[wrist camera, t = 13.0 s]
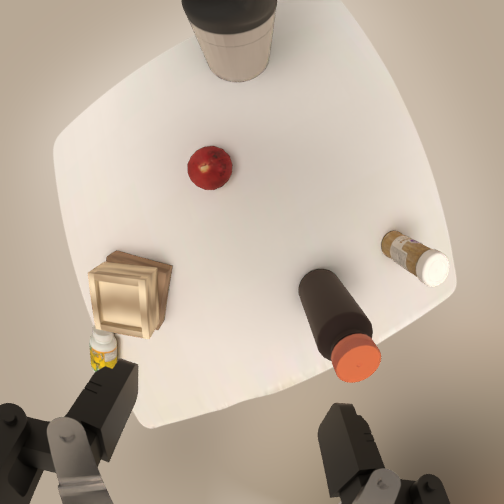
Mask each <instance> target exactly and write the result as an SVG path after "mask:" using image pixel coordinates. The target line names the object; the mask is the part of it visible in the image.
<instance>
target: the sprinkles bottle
mask: <svg viewBox="0 0 504 504" xmlns="http://www.w3.org/2000/svg"><path fill="white" fill-rule="evenodd" d="M382 251H383V253H384V254H385V255H386V256H387V257H389V258H391V259H393V260H394V261H395V262H396V263H397V264H399V265H400V266H402V267H403V268H404V269H406V270H407V271H409V272H410V273H412V274H414V275H415V276H416V277H418V279H419V280H420V281H421V282H422V283H424V284H425V285H427V286H429V287H436V286H438V285H440V284H441V283H442V282H443V281H444V280H445V278H446V277H447V275H448V271H449V261H448V258H447V257H446V255H445V254H443V253H442V252H440V251H438V250H435V249H430V248H428V247H426V246H424V245H423V244H421V243H419V242H417V241H415V240H413V239H411V238H409V237H407V236H405V235H402V234H401V233H400V232H398V231H391V232H389V233H388V234H386V236H385V237H384V238H383V241H382Z"/></svg>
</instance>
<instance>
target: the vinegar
mask: <svg viewBox="0 0 504 504" xmlns="http://www.w3.org/2000/svg"><path fill="white" fill-rule="evenodd" d="M299 296H300V299H301V302H302V305H303V307H304V310H305V313H306V316H307V319H308V322H309V324H310V327H311V330H312V333H313V336H314V339H315V342H316V345H317V348H318V350H319V352H320V353H321V354H322V356H323V357H324V358H326V359H328V360H330V361H332V364H333V367H334V369H335V372H336V374H337V376H338V377H339V378H340V379H341V380H342V381H345V382H352V383H353V382H359V381H361V380H364V379H366V378H368V377H369V376H371V375H372V374H373V373H374V372H375V371H376V369H377V368H378V366H379V364H380V362H381V361H380V360H381V353H380V351H379V349H378V347H377V346H376V344H375V343H374V342H373V340H372V334H373V330H372V324H371V322H370V321H369V319H368V318H367V316H366V315H365V313H364V312H363V311H362V309H361V308H360V307H359V305H358V304H357V303H356V301H355V300H354V299H353V297H352V296H351V295H350V293H349V292H348V291H347V289H346V288H345V287H344V285H343V284H342V283H341V281H340V280H339V279H338V277H337V276H336V275H335V274H334V273H332V272H331V271H329V270H325V269H317V270H314V271H311V272H310V273H308V274H307V275H305V277H304V278H303V279H302V281H301V283H300V286H299Z"/></svg>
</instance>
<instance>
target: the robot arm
mask: <svg viewBox="0 0 504 504" xmlns="http://www.w3.org/2000/svg"><path fill="white" fill-rule="evenodd" d="M182 6H183V9H184V11H185V13H186V15H187V18H188V20H189V22H190V24H191V26H192V29H193V31H194V33H195V35H196V37H197V40H198V42H199V44H200V47H201V49H202V51H203V53H204V56H205V58H206V60H207V63H208V65H209V67H210V69H211V70H212V72H213V73H214V74H215V75H216V76H218V77H219V78H221V79H223V80H226V81H230V82H244V81H248V80H251V79H253V78H255V77H257V76H258V75H260V74H261V73H262V72H263V71H264V69H265V68H266V66H267V64H268V61H269V55H270V48H271V41H272V34H273V27H274V20H275V11H276V6H277V0H182ZM137 394H138V364H135V363H132V362H129V361H126V360H123V359H119V360H118V361H117V363H116V364H115V366H114V367H113V369H112V368H109V367H106V366H105V367H103V368H101V369H99V370H98V371H96V372H95V373H94V375H93V376H92V377H91V379H90V381H89V382H88V383H87V385H86V386H85V389H83V391H82V392H81V394H80V395H79V397H78V398H77V399H76V401H75V403H74V404H73V406H72V407H71V409H70V410H69V412H68V413H67V414H66V416H65V417H59V418H56V419H54V420H52V421H51V422H47V421H42V420H38V419H33V418H30V417H27V416H26V414H25V412H24V411H23V409H22V408H21V407H19V406H18V405H15V404H12V403H6V404H2V405H0V504H29V503H30V501H31V498H32V496H33V494H34V491H35V489H36V487H37V484H38V482H39V480H40V477H41V475H42V473H43V471H44V470H46V471H50V472H55V473H56V474H57V478H58V481H59V485H58V490H59V493H60V497H61V499H62V503H63V504H113V502H112V500H111V498H110V496H109V493H108V491H107V489H106V487H105V485H104V482H103V480H102V478H101V475H100V473H99V470H98V465H99V463H100V460H101V459H102V460H104V461H107V462H109V461H110V459H111V456H112V454H113V452H114V449H115V447H116V445H117V443H118V440H119V438H120V436H121V433H122V431H123V429H124V427H125V424H126V422H127V420H128V418H129V416H130V413H131V411H132V409H133V407H134V405H135V402H136V399H137ZM318 441H319V445H320V450H321V455H322V459H323V464H324V469H325V474H326V479H327V484H328V489H329V494H330V497H340V498H341V502H340V503H339V504H450V502H449V499H448V497H447V494H446V492H445V489H444V486H443V484H442V482H441V480H440V479H439V478H438V477H436V476H435V475H432V474H426V475H423V476H422V477H420V478H419V479H418V480H417V481H410V480H402V479H400V478H399V476H398V475H397V474H396V473H395V472H393V471H392V470H389V469H385V467H384V464H383V462H382V459H381V456H380V454H379V451H378V448H377V446H376V443H375V442H374V438H373V435H371V430H370V428H369V425H368V423H367V422H366V421H365V420H364V419H363V418H362V416H360V415H357V414H356V411H355V409H354V407H353V405H352V404H345V403H334V404H333V405H332V406H331V408H330V410H329V411H328V413H327V415H326V416H325V418H324V420H323V421H322V423H321V424H320V426H319V429H318Z"/></svg>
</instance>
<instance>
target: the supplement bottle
mask: <svg viewBox="0 0 504 504" xmlns="http://www.w3.org/2000/svg"><path fill="white" fill-rule="evenodd" d="M90 355H91V367H92V370H93V371H94V372H96V371H98V370H99V369H101V368H103V367H105V366H106V367H109V368H112V369H113V367H114V366H115V364H116V363H117V341H116V339H115V337H114V334H113V332H108V331H103V330H99V329H96V327H95V325H94V326H93V329H92V336H91V337H90Z"/></svg>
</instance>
